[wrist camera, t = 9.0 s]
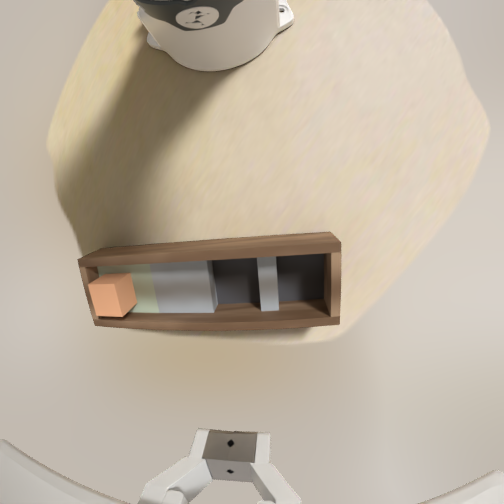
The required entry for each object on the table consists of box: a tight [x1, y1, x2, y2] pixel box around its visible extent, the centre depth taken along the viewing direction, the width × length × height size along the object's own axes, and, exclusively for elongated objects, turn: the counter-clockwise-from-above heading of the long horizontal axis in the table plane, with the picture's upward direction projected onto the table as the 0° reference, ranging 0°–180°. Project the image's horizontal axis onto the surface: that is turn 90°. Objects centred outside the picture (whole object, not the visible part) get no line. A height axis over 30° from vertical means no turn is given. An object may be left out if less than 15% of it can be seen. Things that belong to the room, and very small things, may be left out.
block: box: [88, 273, 137, 317], centre depth 31 cm, size 4×4×4 cm
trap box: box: [78, 232, 341, 331], centre depth 32 cm, size 9×30×6 cm, turn 95°
